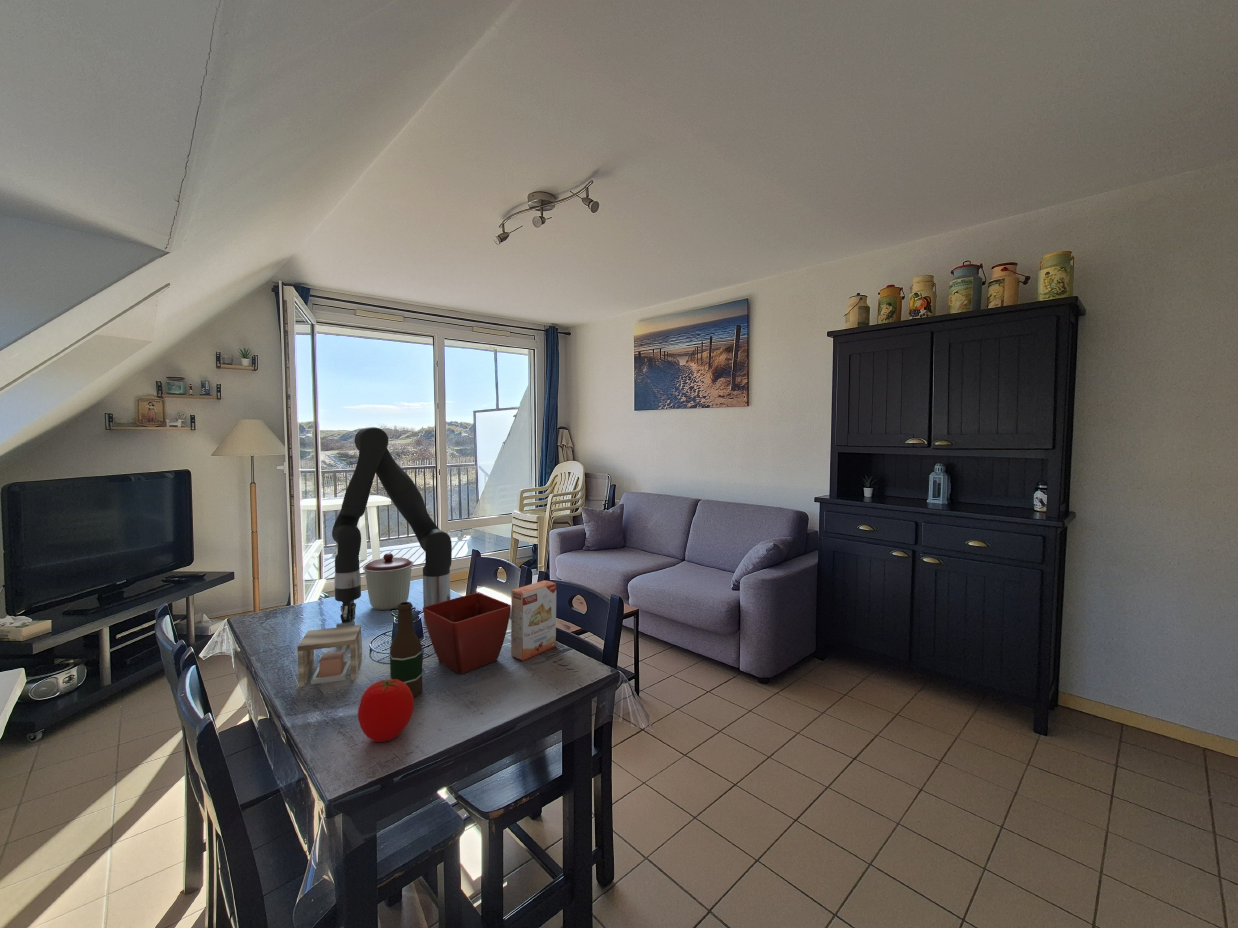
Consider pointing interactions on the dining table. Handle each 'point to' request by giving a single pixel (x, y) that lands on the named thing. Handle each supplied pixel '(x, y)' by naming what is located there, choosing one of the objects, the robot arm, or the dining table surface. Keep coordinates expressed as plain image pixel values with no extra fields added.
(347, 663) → the grey elongated piece
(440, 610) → the plant pot
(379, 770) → the dining table surface
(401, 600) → the canister
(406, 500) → the robot arm
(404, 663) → the beer bottle
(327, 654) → the coral block
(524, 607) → the cracker box
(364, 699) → the tomato
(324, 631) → the tunnel
